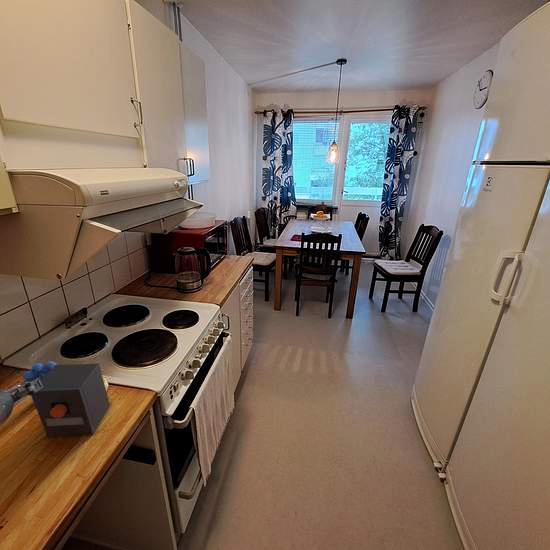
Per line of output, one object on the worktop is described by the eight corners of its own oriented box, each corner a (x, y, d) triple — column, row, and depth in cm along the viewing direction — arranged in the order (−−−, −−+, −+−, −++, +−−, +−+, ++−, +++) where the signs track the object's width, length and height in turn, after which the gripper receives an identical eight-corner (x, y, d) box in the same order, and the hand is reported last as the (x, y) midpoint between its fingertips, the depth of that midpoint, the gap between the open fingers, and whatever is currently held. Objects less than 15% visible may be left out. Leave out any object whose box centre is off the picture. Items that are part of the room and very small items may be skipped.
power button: (51, 418, 73) (48, 409, 72) (55, 413, 75) (52, 404, 74) (64, 417, 74) (61, 408, 72) (68, 412, 75) (65, 403, 74)
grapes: (30, 410, 86) (17, 378, 81) (28, 397, 90) (16, 366, 86) (75, 391, 93) (65, 361, 89) (71, 380, 98) (62, 351, 93)
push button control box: (46, 437, 77) (28, 392, 72) (69, 407, 87) (55, 364, 81) (92, 435, 78) (78, 390, 72) (110, 405, 88) (99, 363, 82)
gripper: (18, 374, 53) (39, 364, 67) (-90, 422, 46) (-42, 400, 60) (36, 409, 54) (53, 393, 68) (-69, 463, 47) (-26, 432, 61)
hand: (8, 396), depth 64 cm, fingers open, 8 cm apart
